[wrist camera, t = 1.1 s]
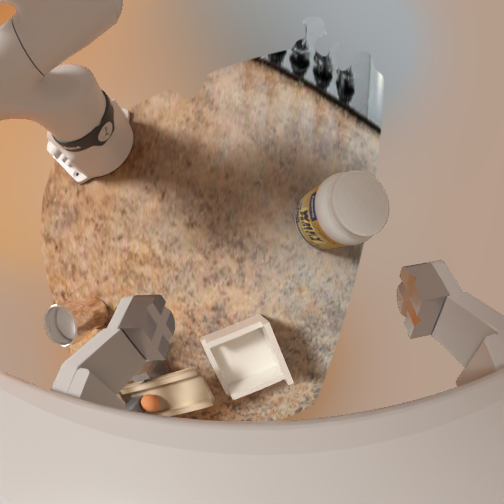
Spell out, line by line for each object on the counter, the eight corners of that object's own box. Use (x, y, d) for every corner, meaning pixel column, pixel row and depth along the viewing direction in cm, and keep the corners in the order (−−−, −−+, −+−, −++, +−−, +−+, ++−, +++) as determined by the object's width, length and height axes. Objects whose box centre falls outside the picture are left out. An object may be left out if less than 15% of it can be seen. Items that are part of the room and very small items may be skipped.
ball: (143, 399, 42) (135, 408, 38) (148, 387, 41) (140, 396, 38) (158, 409, 41) (151, 418, 38) (164, 397, 41) (157, 406, 38)
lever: (144, 411, 45) (115, 457, 29) (125, 377, 45) (87, 417, 29) (217, 393, 46) (207, 445, 30) (199, 356, 46) (179, 399, 30)
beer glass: (83, 290, 48) (45, 296, 33) (113, 301, 48) (81, 311, 34) (78, 323, 47) (40, 338, 32) (107, 334, 48) (75, 355, 33)
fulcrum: (161, 409, 48) (154, 431, 39) (135, 361, 48) (123, 377, 39) (187, 401, 49) (184, 423, 40) (161, 352, 49) (153, 368, 40)
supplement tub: (282, 203, 55) (312, 177, 38) (331, 183, 57) (372, 154, 40) (308, 260, 55) (349, 256, 38) (355, 235, 57) (404, 224, 40)
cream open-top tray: (225, 389, 51) (229, 409, 42) (201, 337, 51) (199, 350, 42) (281, 366, 53) (293, 382, 44) (259, 313, 53) (269, 322, 44)
